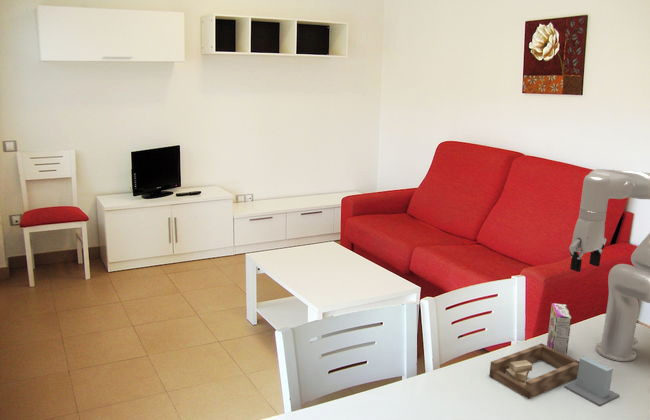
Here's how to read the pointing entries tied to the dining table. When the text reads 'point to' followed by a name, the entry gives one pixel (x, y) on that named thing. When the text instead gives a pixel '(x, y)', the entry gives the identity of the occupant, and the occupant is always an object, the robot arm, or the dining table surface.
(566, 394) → the dining table surface
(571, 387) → the felt pad
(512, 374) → the offcut
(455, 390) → the dining table surface
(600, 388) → the block
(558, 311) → the candy bar box
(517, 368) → the offcut
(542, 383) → the tray
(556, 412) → the dining table surface
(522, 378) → the offcut
